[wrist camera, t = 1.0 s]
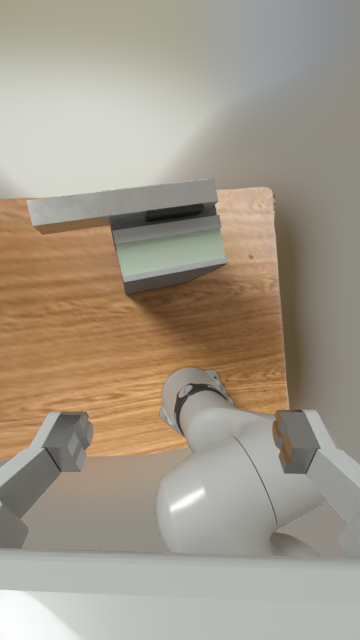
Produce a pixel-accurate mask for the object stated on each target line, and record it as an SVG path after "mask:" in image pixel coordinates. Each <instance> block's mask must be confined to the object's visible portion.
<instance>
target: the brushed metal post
mask: <svg viewBox="0 0 360 640" xmlns="http://www.w3.org/2000/svg"><path fill="white" fill-rule="evenodd" d="M26 201H27V205H28V209H29V213H30V217H31V221H32V225H33V227H35V228H36V229H37V230H38V231H39V232H40V233H41V234H43V235H45V234H52V233H59V232H66V231H73V230H80V229H87V228H94V227H101V226H108V225H115V224H122V223H129V222H136V221H143V220H146V221H147V222H152V221H158V220H165V219H172V218H179V217H186V216H193V215H199V214H200V213H201V212H205V211H210V210H211V209H212V208H213V206H214V205H215V204H216V203H217V202H218V198H217V193H216V187H215V182H214V179H208V180H199V181H191V182H182V183H173V184H165V185H156V186H147V187H139V188H130V189H121V190H113V191H104V192H97V193H87V194H79V195H70V196H61V197H52V198H44V199H35V200H26Z"/></svg>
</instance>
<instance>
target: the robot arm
mask: <svg viewBox="0 0 360 640" xmlns="http://www.w3.org/2000/svg"><path fill="white" fill-rule="evenodd" d="M214 377H215V378H214ZM233 404H234V403H233V401H232V399H231V398H230V397H228V395H227V393H226V391H225V389H224V387H223V385H222V383H221V380H220V378H219V376H218V374H217V372H216V371H215V370H213V369H208V370H201V369H198V368H194V367H187V368H182V369H180V370H177V371H176V372H174V373H173V374H172V375H171V376H170V377H169V378H168V379H167V381H166V382H165V384H164V387H163V390H162V407H161V410H160V418H161V419H162V420H163V421H165V422H166V423H167V424H168V425H170V426H171V427H172V428H174V429H175V430H176V431H177V432H179V433H180V434H181V435H183V436H184V437H185V438H186V440H187V443H188V445H189V447H190V449H191V451H192V452H193V453H194V454H192V455H190V456H188V457H187V458H185V459H184V460H182V461H181V462H180V463H178V464H177V465H175V466H174V467H173V468H171V469H170V470H169V471H168V472H166V473H165V474H164V475H162V477H161V479H160V482H159V484H158V487H157V492H156V498H155V517H156V523H157V527H158V530H159V533H160V536H161V538H162V540H163V542H164V544H165V546H166V547H167V549H168V550H169V551H170V553H163V552H162V553H161V552H130V551H129V552H128V551H96V550H61V549H28V548H26V549H25V548H22V545H23V543H24V541H25V538H26V536H27V534H28V531H29V530H28V527H27V526H26V525H25V524H24V523H23V522H22V521H21V520H20V519H21V518H22V516H23V515H24V514H25V513H26V512H27V511H28V510H29V509H30V507H31V506H32V505H33V504H34V503H35V502H36V501H37V500H38V498H39V497H40V496H41V495H42V494H43V493H44V492H45V491H46V489H47V488H48V487H49V486H50V485H51V484H52V483H53V481H54V480H55V479H56V478H57V477H58V476H59V475H60V474H61V472H80V471H81V469H82V466H83V463H84V461H85V458H86V453H85V449H86V448H87V447H88V446H90V444H91V441H92V437H93V426H92V423H91V422H89V421H88V417H89V416H88V414H87V412H64V411H53V412H50V413H49V414H48V415H47V417H46V419H45V420H44V422H43V424H42V426H41V427H40V429H39V431H38V433H37V434H36V436H35V438H34V440H33V441H32V443H31V445H30V447H29V448H25V449H24V450H22V451H21V452H20V453H19V454H17V455H16V456H15V457H14V458H12V459H11V460H10V461H9V462H7V463H6V464H5V465H4V466H2V467H1V468H0V640H360V465H359V464H358V463H357V462H356V461H354V460H353V459H352V458H350V457H349V456H348V455H347V454H346V453H345V452H343V451H342V449H341V446H340V445H339V443H338V441H337V440H336V438H335V437H334V435H333V434H332V433H331V432H330V431H329V430H328V429H327V428H326V427H325V426H324V424H323V422H322V420H321V418H320V416H319V414H318V413H317V411H315V410H277V411H276V413H275V414H265V413H258V412H253V411H248V410H244V409H240V408H237V407H235V406H233ZM326 500H328V502H329V503H330V504H331V505H332V506H333V507H334V509H336V511H337V512H338V513H339V514H340V516H341V517H342V518H343V519H344V520H345V521H346V522H347V524H348V526H347V527H346V528H345V530H344V531H343V532H342V533H341V535H340V537H339V540H340V543H341V546H342V548H343V551H344V553H345V556H346V558H332V557H331V558H329V557H321V556H320V555H319V554H318V553H317V552H316V551H315V550H314V549H313V548H312V547H311V546H309V545H308V544H307V543H305V542H303V541H301V540H299V539H297V538H295V537H293V536H291V535H288V534H284V533H277V532H275V531H276V530H277V529H278V528H280V527H282V526H284V525H286V524H288V523H289V522H291V521H293V520H295V519H297V518H298V517H301V516H302V515H304V514H306V513H308V512H310V511H312V510H313V509H315V508H317V507H319V506H321V505H322V504H323V503H324V502H325V501H326Z"/></svg>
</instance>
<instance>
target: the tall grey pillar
mask: <svg viewBox="0 0 360 640" xmlns="http://www.w3.org/2000/svg"><path fill="white" fill-rule="evenodd" d="M211 179H212V178H211ZM202 180H208V179H202ZM194 181H199V180H194ZM185 182H191V181H185ZM177 183H182V182H177ZM168 184H173V183H168ZM159 185H165V184H159ZM150 186H156V185H150ZM141 187H147V186H141ZM133 188H139V187H133ZM124 189H130V188H124ZM115 190H121V189H115ZM107 191H113V190H107ZM103 192H104V191H103ZM110 227H111V232H112V236H113V241H114V246H115V250H116V251H117V255H118V259H119V263H120V268H121V272H122V278H123V284H124V289H125V293H126V295H128V294H133V293H138V292H143V291H148V290H153V289H157V288H162V287H167V286H172V285H177V284H182V283H187V282H189V281H192V280H194V279H196V278H198V277H200V276H202V275H205V274H207V273H209V272H211V271H213V270H216V269H218V268H220V267H222V266H224V265H226V263H228V259H227V257H225V254H224V248H223V243H222V238H221V233H220V228H221V222H220V217H219V215H217V214H216V208H215V205H214V206H213V208H212V209H211V210H210V211H205V212H201V213H200V214H199V215H193V216H186V217H179V218H172V219H165V220H158V221H152V222H147V221H146V220H143V221H136V222H129V223H122V224H115V225H110Z"/></svg>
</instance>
